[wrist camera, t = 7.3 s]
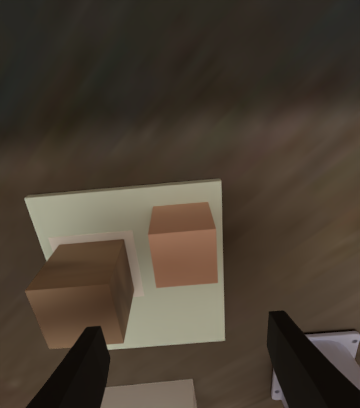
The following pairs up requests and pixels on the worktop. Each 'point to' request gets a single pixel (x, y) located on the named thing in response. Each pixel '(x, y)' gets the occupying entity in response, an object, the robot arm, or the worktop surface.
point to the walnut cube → (83, 292)
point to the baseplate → (140, 254)
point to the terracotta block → (183, 245)
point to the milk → (151, 395)
